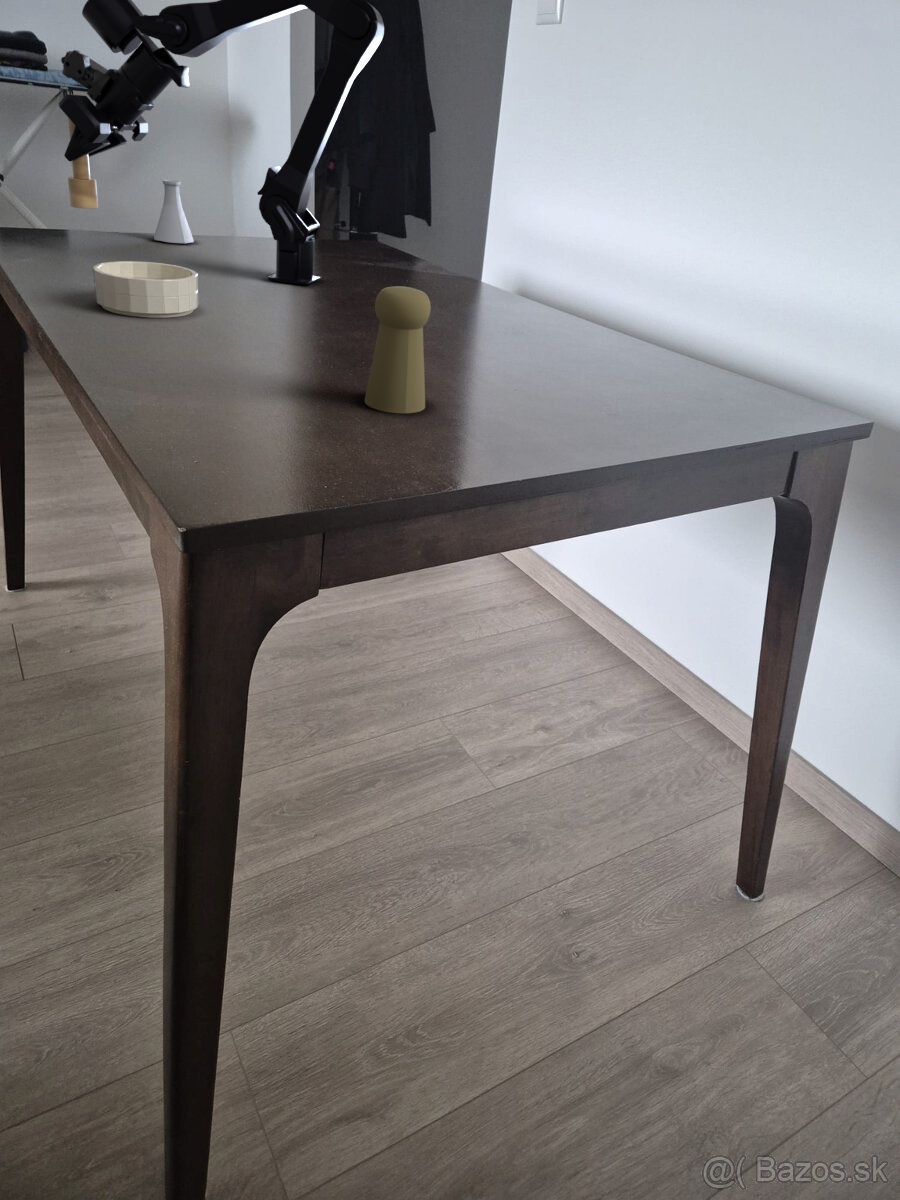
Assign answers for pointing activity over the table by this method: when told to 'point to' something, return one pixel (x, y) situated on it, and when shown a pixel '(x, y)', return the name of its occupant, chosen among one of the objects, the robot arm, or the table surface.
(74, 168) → the pestle
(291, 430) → the table surface
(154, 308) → the bowl
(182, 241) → the flask
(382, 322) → the cork
